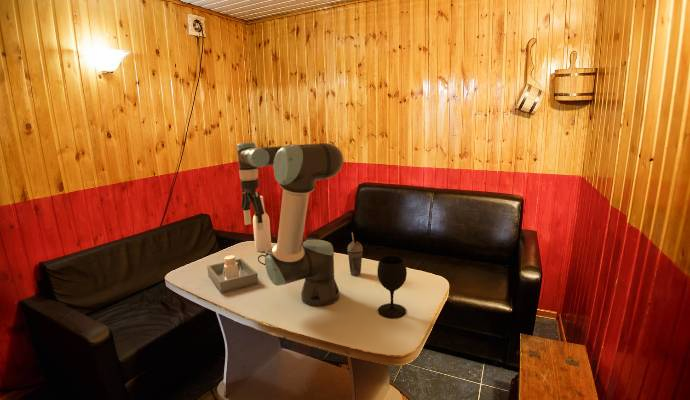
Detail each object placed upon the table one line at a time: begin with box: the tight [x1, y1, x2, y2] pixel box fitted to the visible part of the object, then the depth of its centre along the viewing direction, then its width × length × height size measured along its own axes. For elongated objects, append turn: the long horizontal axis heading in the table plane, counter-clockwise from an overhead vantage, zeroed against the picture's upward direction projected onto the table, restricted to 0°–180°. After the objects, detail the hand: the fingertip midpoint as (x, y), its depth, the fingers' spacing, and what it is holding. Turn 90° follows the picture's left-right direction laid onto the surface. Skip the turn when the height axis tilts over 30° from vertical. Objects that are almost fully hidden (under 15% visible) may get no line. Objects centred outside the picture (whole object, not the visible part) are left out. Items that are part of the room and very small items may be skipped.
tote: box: [206, 257, 259, 295], centre depth 165 cm, size 22×16×5 cm
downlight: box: [223, 254, 241, 280], centre depth 164 cm, size 8×7×10 cm
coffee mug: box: [257, 247, 273, 266], centre depth 174 cm, size 12×9×10 cm
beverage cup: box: [346, 232, 364, 277], centre depth 166 cm, size 7×7×20 cm
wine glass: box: [376, 255, 408, 319], centre depth 133 cm, size 10×10×20 cm
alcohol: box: [252, 195, 272, 253], centre depth 201 cm, size 9×9×30 cm
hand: (253, 227), depth 162 cm, fingers open, 13 cm apart
